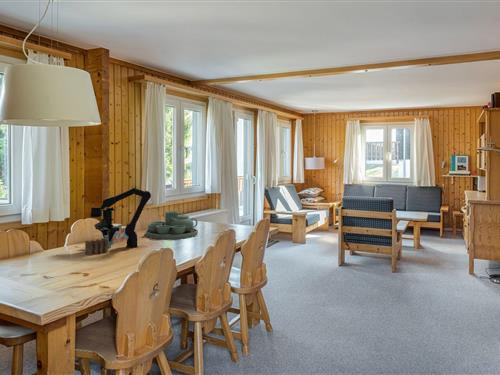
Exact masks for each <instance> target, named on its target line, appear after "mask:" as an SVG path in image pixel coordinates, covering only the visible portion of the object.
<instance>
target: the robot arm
mask: <svg viewBox="0 0 500 375" xmlns="http://www.w3.org/2000/svg"><path fill="white" fill-rule="evenodd" d="M133 195H136V196H138V197H140V200H139V204H138V205H137V208H136V210H135V212H134V214H133V216H132V218H131V220H130V222H127V223H126V227H125V234H126V235H127V236H128V239H126V247H127V248H130V249H131V248H139V246H138V233H137V232H136V231H135V230H136V227H137V226H136V225H137V222H138V220H140V216H141V214H142V212H143V210H144V208H145V206H146V205H147V203H148V202H149V200H151V198H152V195H151V192H150V191H149V190H142V189H138V188H136V187H132V188H130V189H128V190H126V191H124V192H122V193H119V194H117V195H114V196H109V197H107V198H104V199H103V200H102V204H101V205H100V206H99V207H98V206H97V207H94V206H91V208H90V218H99V219H100V218H101V217H102V218H101V220H100V221H99V222H97V223H95V224H94V229H95V230H97V231H100V233H101V235H102V237H103V238H102V239H104V235H108V237H109V242H110V241H111V240H112V238H113V236H114V234H115V232H116V231H119V227H116V226H114V227H113V225H112V224H113V221H114V218H113V211H115V210H116V209H115V208H114V207H113V205H115V204H116V203H118V202H119V201H121V200H124V199H126V198H129V197H130V196H133ZM105 208H106V209H105Z"/></svg>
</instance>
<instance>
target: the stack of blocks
mask: <svg viewBox="0 0 500 375" xmlns="http://www.w3.org/2000/svg"><path fill="white" fill-rule="evenodd" d="M112 225H113V227H114V226H116V227H119V231H116V232H115V234H114V236H113V238H112V240H111V245H114V244H118V243H121V242H123V241H125V240H126V241H127V240H128V236H127V235H126V234H125V227H126V226H123V224H121V223H112ZM117 242H118V243H117Z"/></svg>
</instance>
